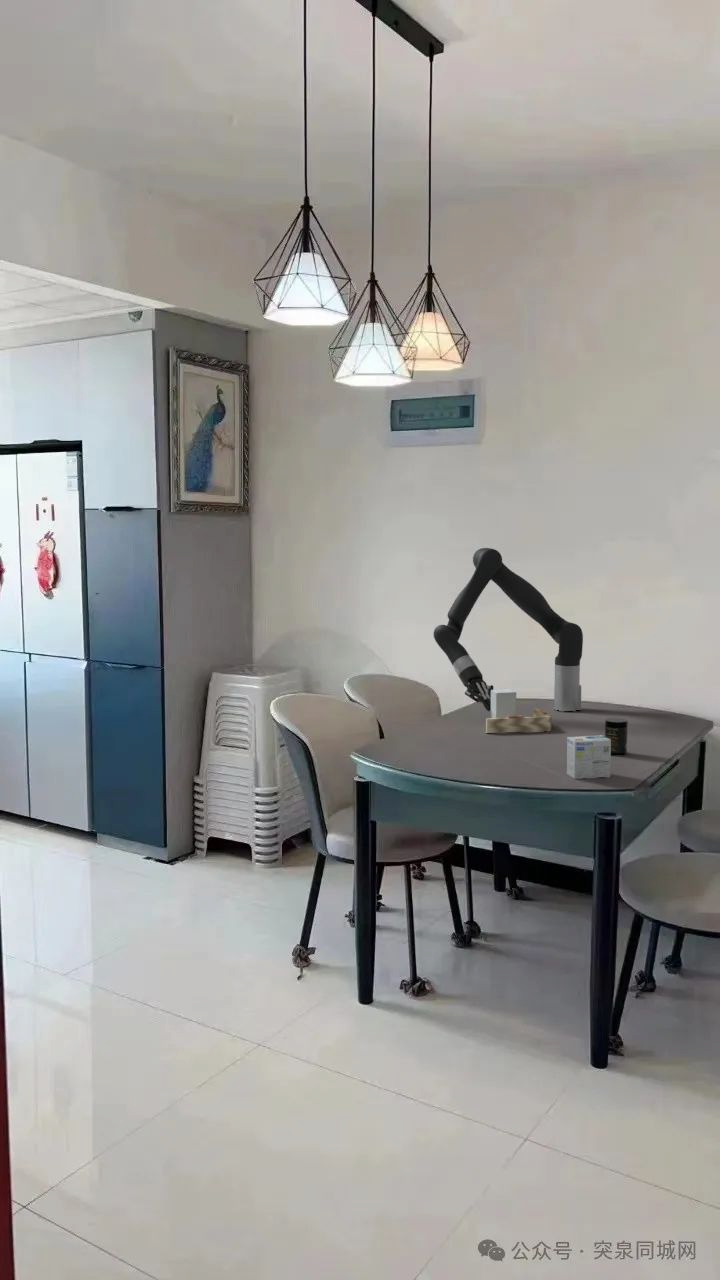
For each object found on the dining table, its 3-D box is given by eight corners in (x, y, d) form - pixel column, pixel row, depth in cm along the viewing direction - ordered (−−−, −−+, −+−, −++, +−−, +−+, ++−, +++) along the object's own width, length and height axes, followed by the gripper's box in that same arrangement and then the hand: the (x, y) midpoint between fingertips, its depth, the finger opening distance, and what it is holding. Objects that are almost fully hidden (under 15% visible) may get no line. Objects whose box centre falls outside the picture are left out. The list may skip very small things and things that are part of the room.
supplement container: (627, 756, 294) (627, 722, 293) (603, 755, 296) (604, 721, 295) (627, 751, 301) (628, 718, 300) (604, 750, 303) (605, 717, 301)
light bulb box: (601, 771, 276) (602, 734, 275) (611, 777, 270) (612, 739, 269) (565, 773, 275) (566, 736, 274) (574, 779, 268) (575, 741, 267)
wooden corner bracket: (536, 721, 347) (536, 706, 347) (551, 731, 331) (552, 715, 330) (474, 724, 344) (474, 708, 344) (486, 733, 328) (487, 717, 327)
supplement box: (516, 728, 336) (516, 692, 335) (495, 729, 335) (495, 692, 334) (510, 724, 344) (510, 688, 342) (489, 724, 343) (490, 689, 341)
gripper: (459, 666, 345) (483, 705, 336) (486, 662, 353) (510, 701, 344) (448, 679, 349) (472, 718, 341) (475, 675, 357) (499, 713, 349)
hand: (491, 709), depth 343 cm, fingers closed
